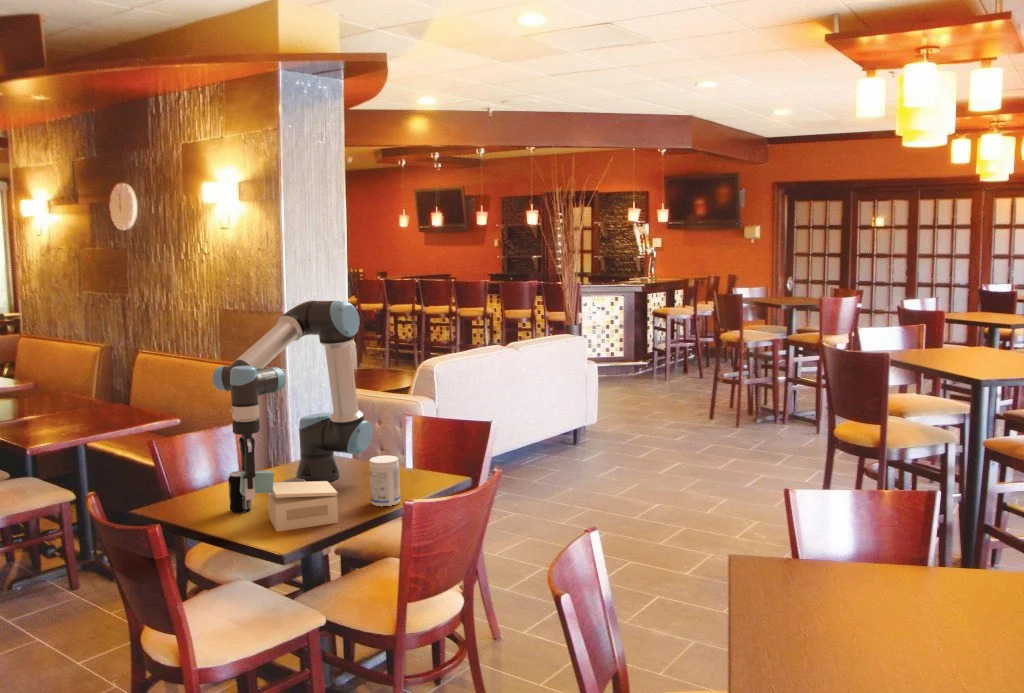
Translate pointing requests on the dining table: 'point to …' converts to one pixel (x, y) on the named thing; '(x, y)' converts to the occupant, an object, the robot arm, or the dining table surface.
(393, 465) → the supplement tub
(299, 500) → the carton
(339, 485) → the dining table surface
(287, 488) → the flap
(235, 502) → the beverage can
